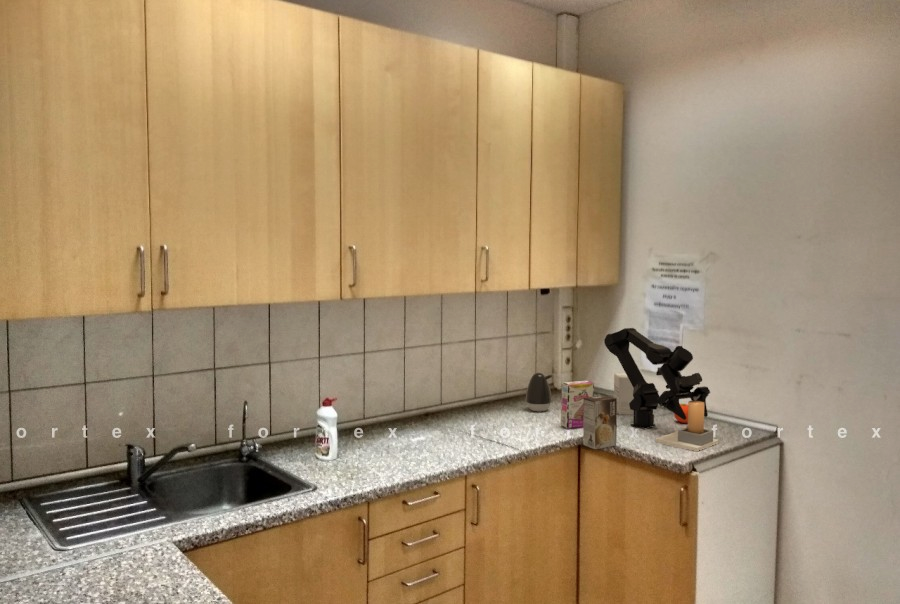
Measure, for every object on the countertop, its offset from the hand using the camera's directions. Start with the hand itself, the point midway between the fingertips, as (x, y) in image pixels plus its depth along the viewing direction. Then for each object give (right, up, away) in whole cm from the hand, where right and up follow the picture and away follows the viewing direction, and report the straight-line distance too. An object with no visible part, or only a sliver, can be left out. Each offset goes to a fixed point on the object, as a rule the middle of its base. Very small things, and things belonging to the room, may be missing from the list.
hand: (696, 417), depth 237 cm
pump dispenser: (-46, -5, +49) cm, 68 cm away
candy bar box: (-35, -7, +24) cm, 43 cm away
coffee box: (-32, -9, 0) cm, 33 cm away
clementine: (+6, -7, +30) cm, 31 cm away
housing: (-2, -9, +3) cm, 10 cm away
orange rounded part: (0, -8, +1) cm, 8 cm away
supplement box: (-11, -5, +46) cm, 48 cm away
